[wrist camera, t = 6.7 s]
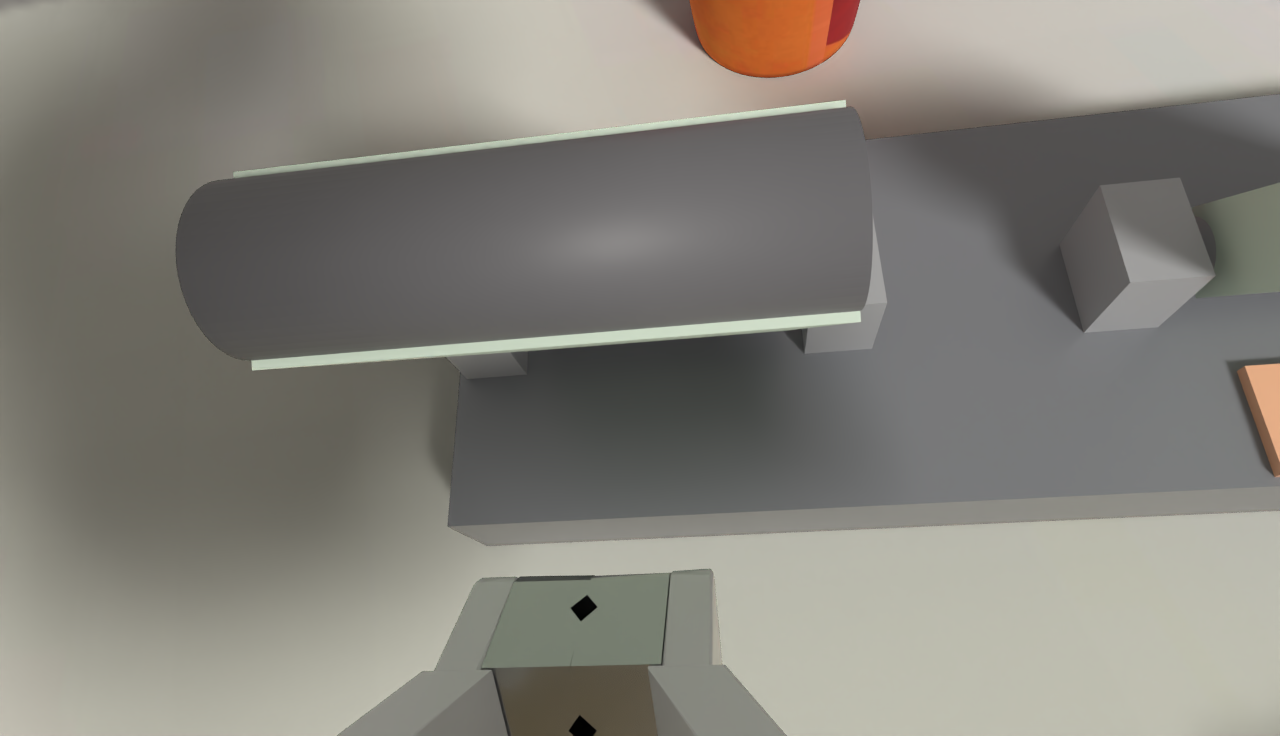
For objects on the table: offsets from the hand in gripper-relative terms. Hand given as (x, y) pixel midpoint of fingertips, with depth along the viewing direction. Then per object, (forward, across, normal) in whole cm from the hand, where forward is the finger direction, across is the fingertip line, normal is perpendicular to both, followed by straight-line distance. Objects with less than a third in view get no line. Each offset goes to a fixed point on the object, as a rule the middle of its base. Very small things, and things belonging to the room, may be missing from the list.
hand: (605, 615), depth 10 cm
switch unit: (+13, -8, +2) cm, 15 cm away
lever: (+10, 0, -1) cm, 10 cm away
